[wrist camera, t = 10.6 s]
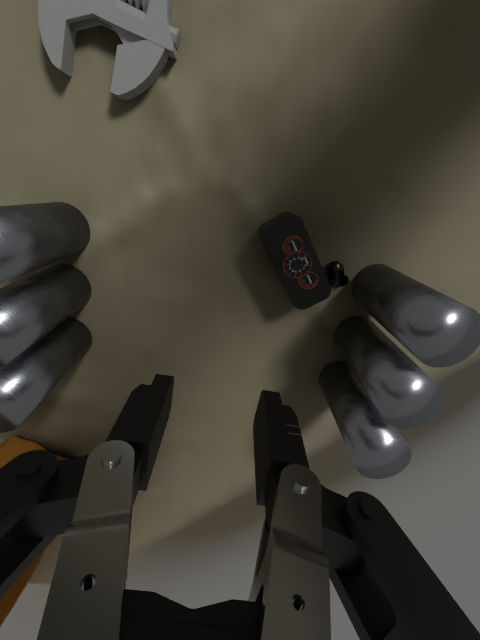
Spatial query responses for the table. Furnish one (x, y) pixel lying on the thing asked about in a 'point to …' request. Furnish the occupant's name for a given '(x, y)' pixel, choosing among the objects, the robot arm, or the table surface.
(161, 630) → the robot arm
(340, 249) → the table surface
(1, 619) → the coffee package
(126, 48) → the adjustable wrench
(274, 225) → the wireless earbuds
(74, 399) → the table surface
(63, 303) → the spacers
